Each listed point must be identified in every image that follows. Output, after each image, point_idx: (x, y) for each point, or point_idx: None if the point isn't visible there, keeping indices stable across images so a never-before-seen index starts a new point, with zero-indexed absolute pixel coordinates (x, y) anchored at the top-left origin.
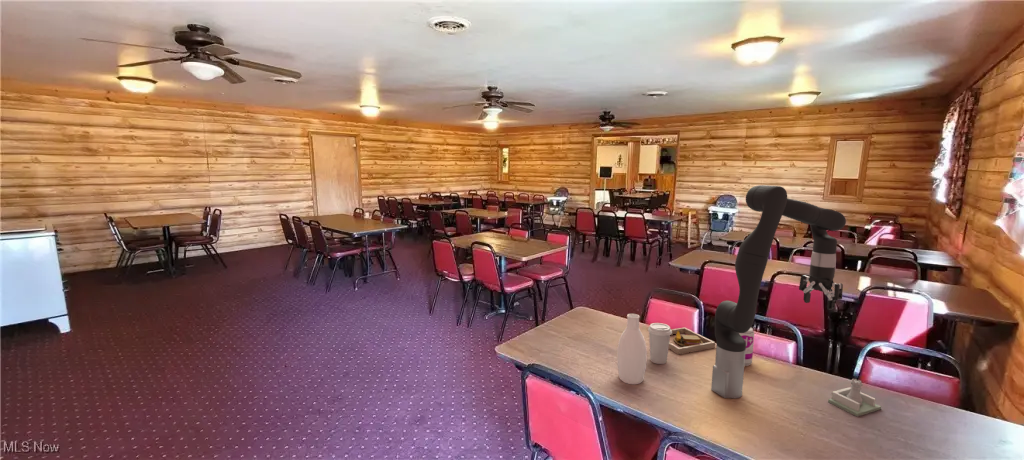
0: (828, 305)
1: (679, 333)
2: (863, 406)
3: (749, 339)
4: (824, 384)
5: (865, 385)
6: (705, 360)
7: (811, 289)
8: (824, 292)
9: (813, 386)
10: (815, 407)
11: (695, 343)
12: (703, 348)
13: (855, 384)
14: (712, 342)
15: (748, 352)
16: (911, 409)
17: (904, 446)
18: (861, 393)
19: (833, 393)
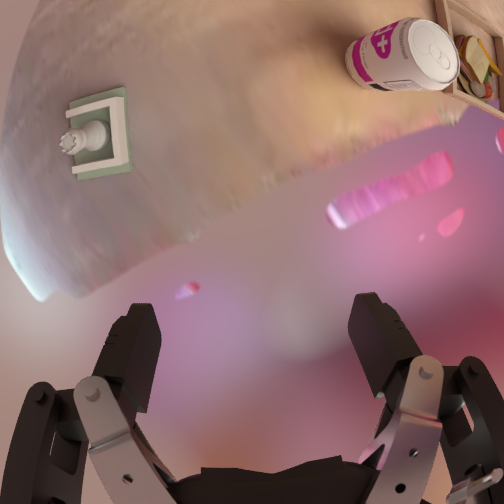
0: (130, 329)
1: (495, 69)
2: None
3: (385, 37)
4: (191, 156)
5: (163, 248)
6: (398, 7)
7: (379, 436)
8: (138, 459)
9: (192, 117)
10: (121, 42)
11: (458, 46)
12: None
13: (65, 131)
14: (454, 86)
15: (362, 46)
16: (77, 236)
17: (11, 110)
18: (93, 163)
19: (113, 97)
